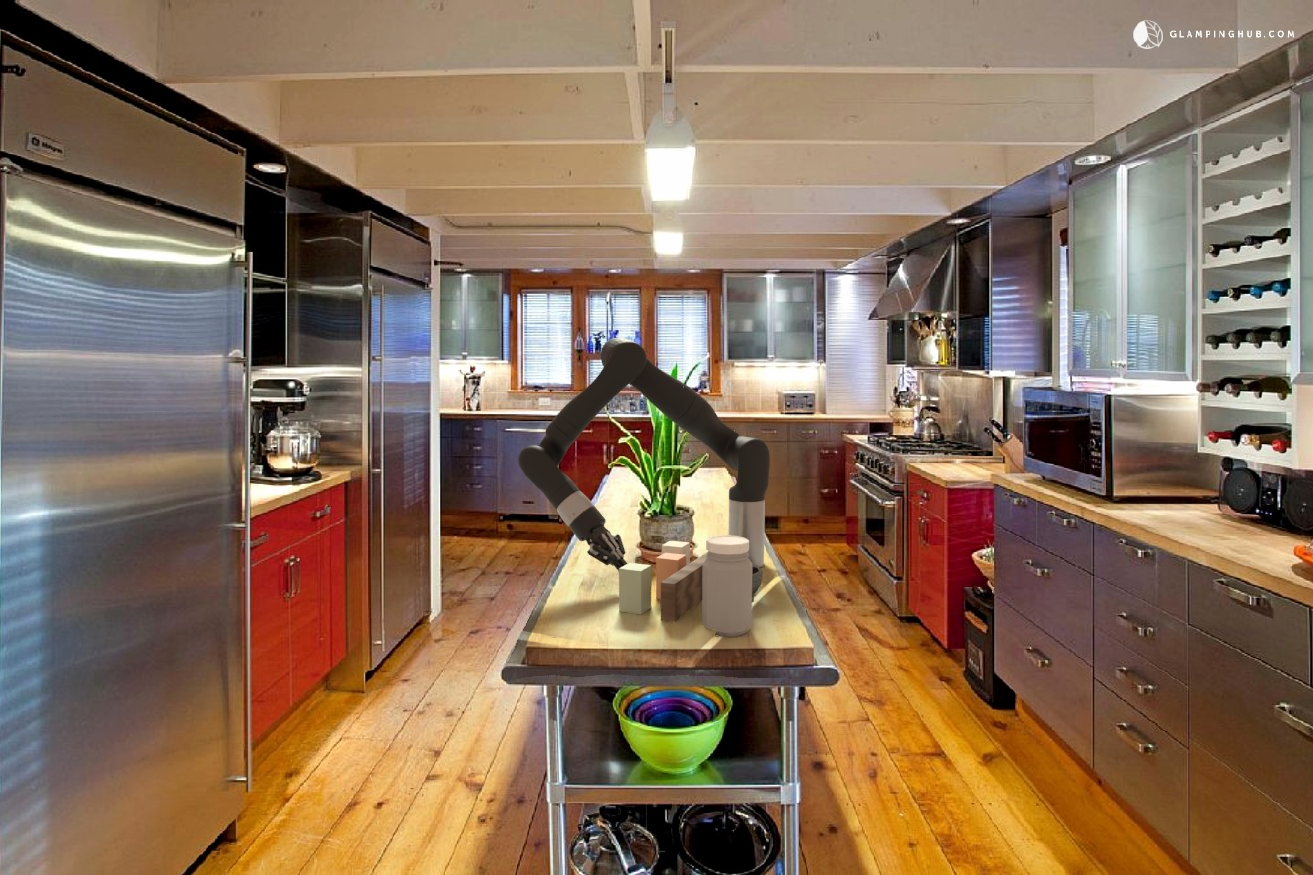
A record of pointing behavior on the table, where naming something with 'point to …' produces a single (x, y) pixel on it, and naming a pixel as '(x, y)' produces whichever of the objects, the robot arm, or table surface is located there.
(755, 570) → the mortar and pestle
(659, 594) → the salmon block
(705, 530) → the table surface
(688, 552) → the beige block
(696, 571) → the brown wooden block
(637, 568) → the sage block
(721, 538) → the jar
